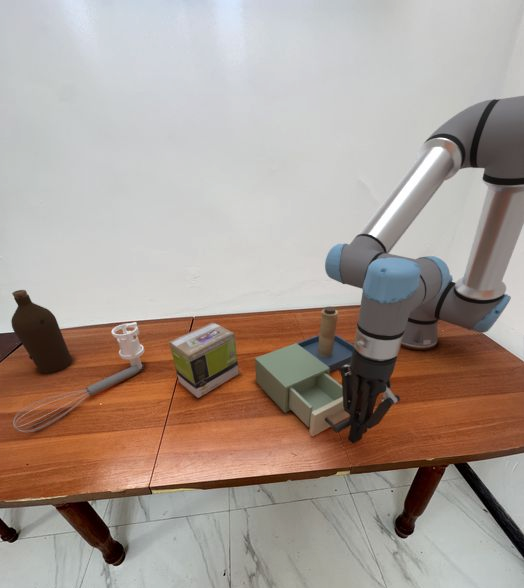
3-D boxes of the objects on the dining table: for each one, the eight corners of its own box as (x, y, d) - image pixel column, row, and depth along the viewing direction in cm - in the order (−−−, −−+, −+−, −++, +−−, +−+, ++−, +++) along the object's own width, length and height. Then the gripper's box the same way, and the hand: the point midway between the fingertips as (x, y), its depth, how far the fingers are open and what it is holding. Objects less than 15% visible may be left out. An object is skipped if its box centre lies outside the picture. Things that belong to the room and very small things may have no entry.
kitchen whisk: (150, 372, 91) (145, 355, 87) (26, 443, 69) (12, 425, 65) (139, 365, 94) (134, 348, 90) (17, 431, 72) (3, 413, 69)
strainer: (150, 369, 92) (138, 327, 83) (127, 377, 89) (112, 334, 81) (145, 358, 97) (133, 317, 89) (123, 365, 94) (108, 323, 86)
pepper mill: (325, 347, 99) (330, 304, 90) (335, 354, 95) (341, 309, 86) (314, 352, 97) (318, 307, 88) (324, 359, 93) (329, 313, 84)
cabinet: (326, 392, 81) (330, 367, 76) (284, 413, 75) (285, 387, 70) (295, 366, 91) (296, 342, 87) (255, 382, 86) (254, 357, 81)
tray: (329, 336, 106) (329, 330, 104) (362, 357, 94) (363, 351, 93) (289, 351, 98) (289, 345, 97) (320, 376, 87) (320, 369, 86)
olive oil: (80, 354, 99) (49, 284, 86) (64, 374, 91) (26, 298, 77) (48, 356, 99) (12, 285, 86) (29, 375, 90) (-16, 300, 77)
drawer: (366, 425, 70) (371, 404, 66) (325, 449, 64) (328, 428, 61) (317, 384, 83) (319, 365, 79) (279, 401, 77) (279, 381, 73)
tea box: (219, 361, 94) (213, 320, 86) (239, 375, 88) (236, 332, 80) (178, 383, 86) (167, 340, 78) (197, 400, 80) (188, 355, 72)
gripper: (333, 340, 55) (322, 427, 68) (391, 377, 46) (365, 469, 59) (361, 329, 58) (345, 414, 71) (421, 361, 49) (390, 452, 62)
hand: (354, 439), depth 65 cm, fingers closed
